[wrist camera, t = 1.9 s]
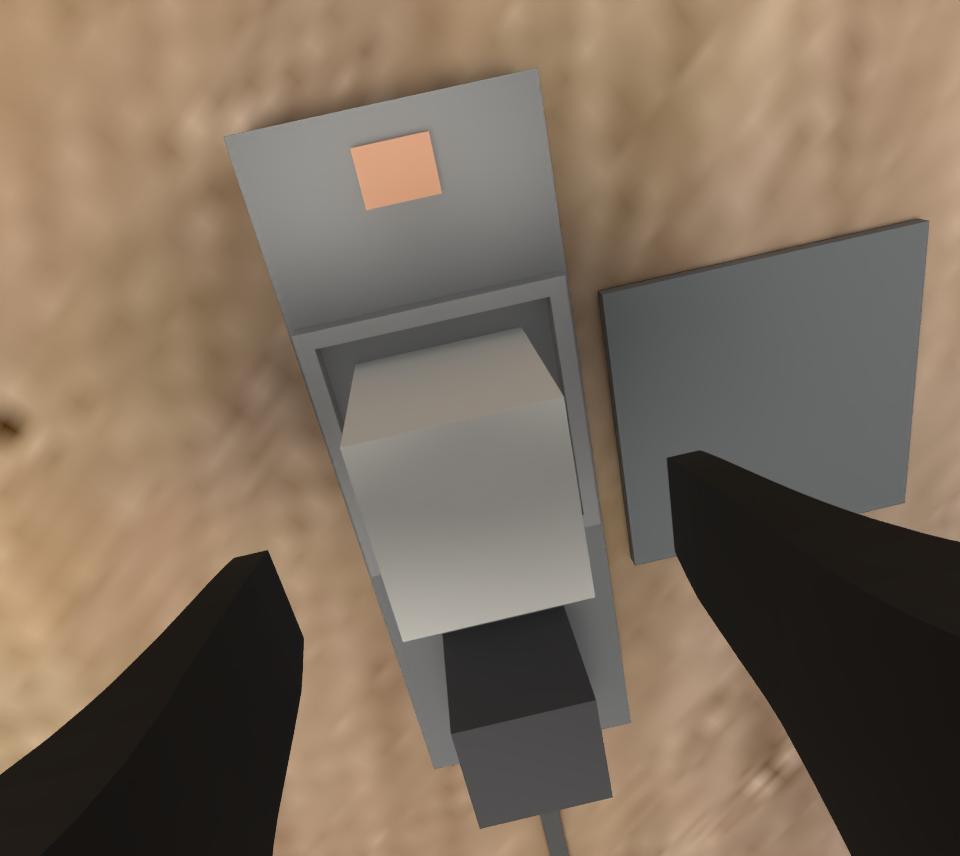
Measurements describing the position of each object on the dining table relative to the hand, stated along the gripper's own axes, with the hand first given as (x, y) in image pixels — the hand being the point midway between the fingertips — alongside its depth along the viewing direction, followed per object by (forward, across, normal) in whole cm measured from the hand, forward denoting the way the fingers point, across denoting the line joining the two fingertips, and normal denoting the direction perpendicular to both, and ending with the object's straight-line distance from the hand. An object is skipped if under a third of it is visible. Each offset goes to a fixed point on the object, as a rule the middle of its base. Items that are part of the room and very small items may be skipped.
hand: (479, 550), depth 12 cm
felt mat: (+8, -9, +3) cm, 12 cm away
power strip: (+8, 0, +7) cm, 10 cm away
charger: (+5, 0, 0) cm, 5 cm away
